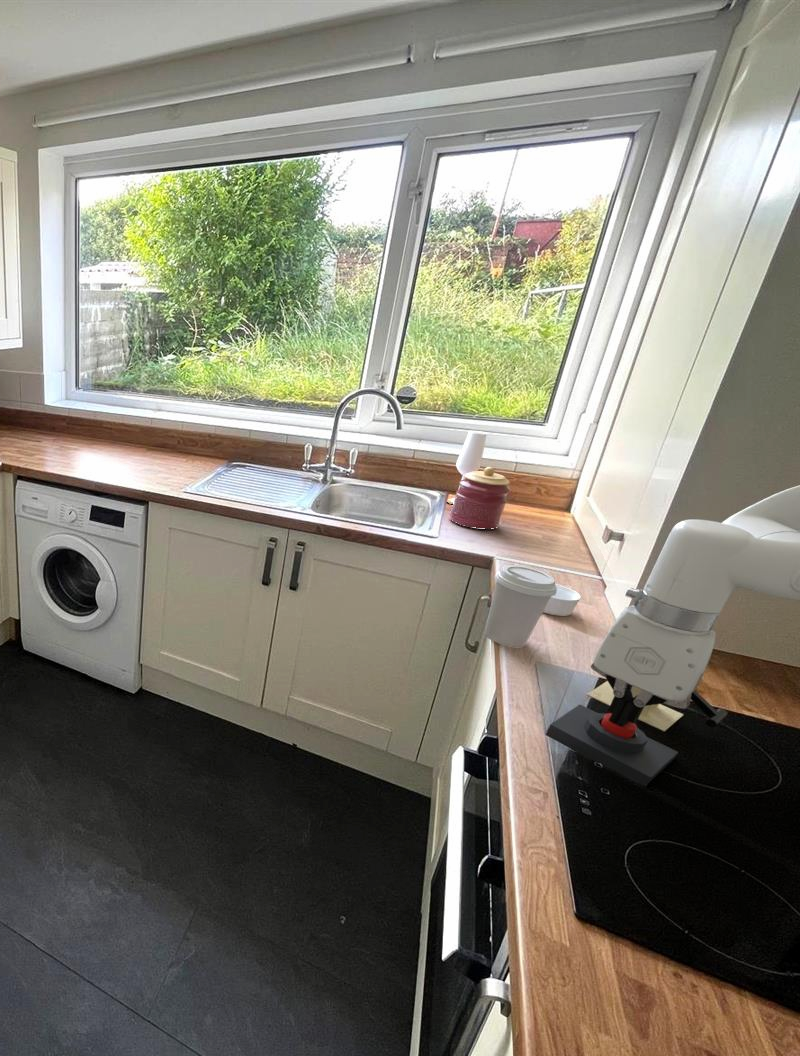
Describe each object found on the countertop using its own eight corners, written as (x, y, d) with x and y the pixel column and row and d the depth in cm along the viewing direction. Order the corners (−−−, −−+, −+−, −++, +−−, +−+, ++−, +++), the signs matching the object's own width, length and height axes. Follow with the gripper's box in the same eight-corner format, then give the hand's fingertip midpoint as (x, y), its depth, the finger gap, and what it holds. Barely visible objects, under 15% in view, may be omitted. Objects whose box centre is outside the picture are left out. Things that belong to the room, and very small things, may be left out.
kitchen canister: (442, 521, 176) (458, 465, 169) (455, 512, 185) (472, 458, 178) (491, 534, 168) (510, 476, 161) (503, 524, 176) (522, 468, 169)
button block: (672, 763, 84) (684, 742, 83) (644, 789, 79) (656, 767, 78) (574, 715, 94) (584, 694, 92) (545, 735, 89) (554, 714, 87)
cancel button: (636, 734, 85) (641, 724, 84) (626, 742, 83) (631, 732, 82) (606, 719, 87) (610, 710, 87) (595, 727, 86) (600, 717, 85)
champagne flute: (464, 501, 196) (486, 431, 186) (470, 508, 190) (493, 435, 180) (442, 499, 197) (462, 429, 188) (448, 505, 191) (469, 433, 182)
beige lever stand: (680, 720, 93) (714, 659, 89) (661, 737, 89) (695, 673, 85) (604, 686, 101) (631, 628, 96) (584, 700, 97) (611, 640, 93)
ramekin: (528, 611, 125) (535, 594, 124) (520, 594, 133) (526, 577, 131) (579, 621, 122) (586, 603, 120) (567, 603, 129) (574, 586, 128)
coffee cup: (463, 628, 118) (486, 562, 112) (511, 631, 118) (536, 564, 112) (493, 655, 109) (519, 584, 103) (544, 658, 109) (574, 587, 103)
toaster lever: (717, 719, 88) (734, 713, 87) (705, 729, 86) (723, 723, 84) (647, 651, 94) (662, 644, 92) (635, 659, 92) (650, 652, 90)
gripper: (595, 593, 81) (548, 699, 89) (744, 646, 70) (677, 763, 77) (617, 582, 85) (571, 685, 92) (763, 631, 73) (697, 745, 80)
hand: (619, 720), depth 84 cm, fingers closed
